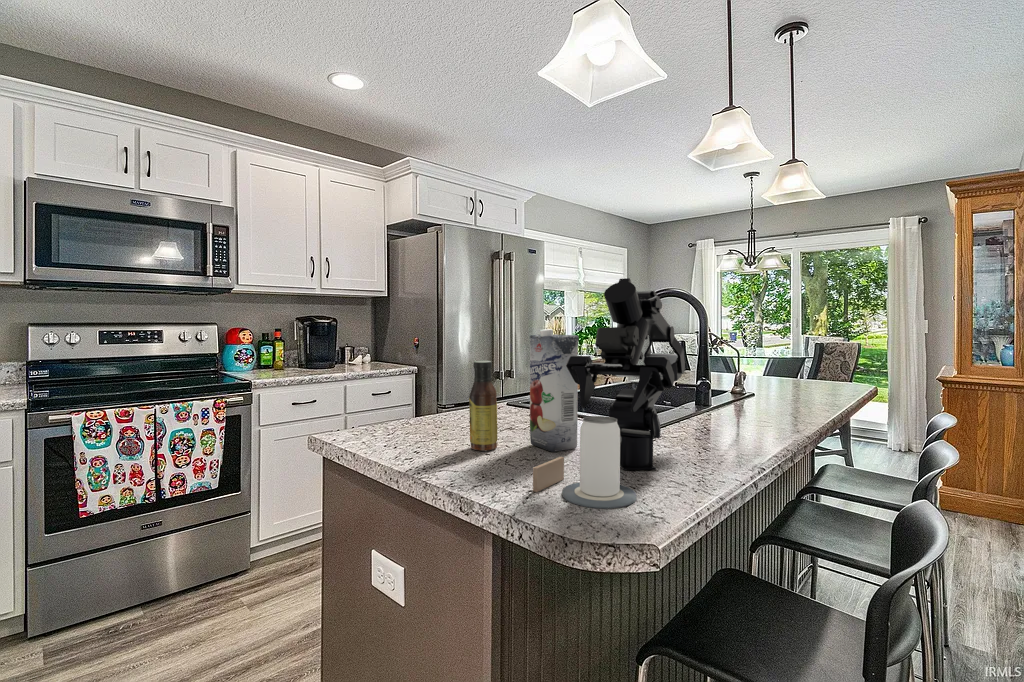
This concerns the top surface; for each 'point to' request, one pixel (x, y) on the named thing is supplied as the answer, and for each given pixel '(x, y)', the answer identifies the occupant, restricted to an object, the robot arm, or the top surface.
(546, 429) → the juice carton
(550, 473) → the brown wall
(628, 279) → the robot arm
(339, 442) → the top surface
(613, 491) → the can
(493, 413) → the sauce bottle
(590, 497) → the slate plate
